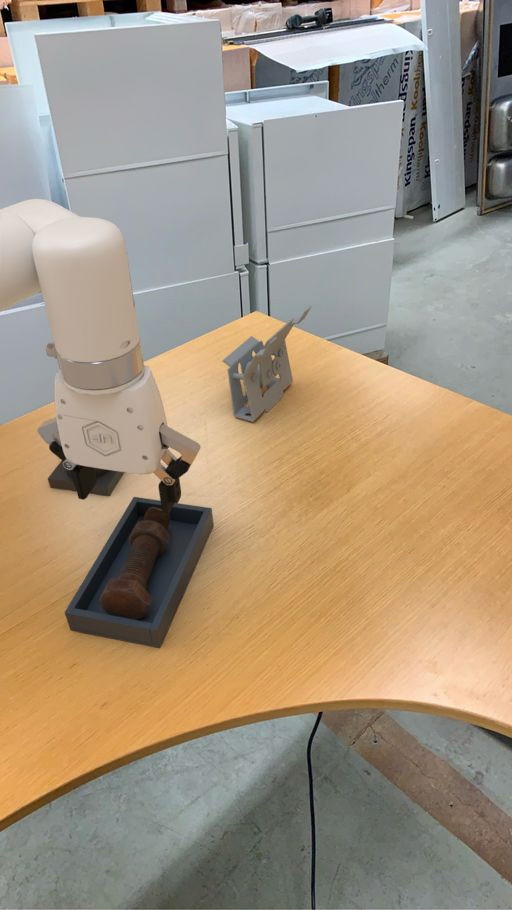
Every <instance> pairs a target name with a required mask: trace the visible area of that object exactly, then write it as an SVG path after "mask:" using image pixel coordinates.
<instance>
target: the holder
mask: <svg viewBox="0 0 512 910" xmlns="http://www.w3.org/2000/svg"><path fill="white" fill-rule="evenodd" d="M150 507H156V508H159V509H162V507H161V501H160V499H152V498H145V497H138V496H133V497H132V499H131V500H130V502H129V504H128V505H127V507H126V509H125V511H124V512H123V514H122V516H121V517H120V519H119V520H118V522H117V523H116V526H115V527H114V529H113V531H112V532H111V534H110V536H109V537H108V539H107V541H106V542H105V544H104V546H103V547H102V549H101V551H100V552H99V554H98V555H97V558H96V559H95V561H94V562H93V564H92V566H91V567H90V569H89V570H88V572H87V574H86V576H85V577H84V578H83V581H82V583H81V584H80V586H79V588H78V589H77V591H76V592H75V594H74V595H73V597H72V599H71V601H70V602H69V604H68V606H67V607H66V609H65V611H64V615H65V616H64V617H65V618H66V619H65V620H66V622H67V625H68V627H69V631H72V632H77V633H81V634H86V635H87V634H88V635H91V636H98V637H102V638H107V639H113V640H117V641H122V642H127V643H132V644H135V645H136V644H137V645H143V646H145V647H146V646H147V647H150V648H151V647H152V648H157V649H161V647H162V646H163V643H164V641H165V638H166V636H167V634H168V632H169V629H170V627H171V625H172V622H173V620H174V618H175V616H176V613H177V611H178V609H179V606H180V604H181V602H182V600H183V598H184V595H185V593H186V591H187V588H188V585H189V583H190V581H191V578H192V576H193V574H194V572H195V570H196V568H197V565H198V563H199V560H200V558H201V555H202V554H203V552H204V549H205V547H206V544H207V542H208V539H209V537H210V535H211V533H212V531H213V528H214V517H213V516H214V515H213V510H212V507H207V506H200V505H194V504H193V505H192V504H188V503H187V504H185V503H179V502H178V503H174V505H173V507H172V509H171V511H170V513H169V515H170V518H169V519H170V523H169V525H168V528H167V532H168V533H169V535H170V540H169V543H168V545H167V547H166V548H165V550H164V552H163V553H162V554H161V556H157V558H156V560H155V563H154V566H153V569H152V572H151V574H150V577H149V580H148V583H147V585H146V591H147V592H148V593H149V594H150V595H151V596H152V597H153V599H152V601H151V604H150V606H149V608H148V610H147V612H146V613H145V615H144V616H143V618H142V619H141V620H133V619H128V618H123V617H117V616H112V615H109V614H107V613H106V612H105V611H104V609H103V608H102V606H101V605H100V603H99V599H100V596H101V594H102V592H103V590H104V589H105V587H106V585H107V583H108V582H109V580H110V578H113V579H117V578H118V577H119V576H120V573H121V571H122V569H123V567H124V564H125V562H126V559H127V556H128V554H129V552H130V549H131V545H130V543H129V541H128V540H129V537H130V535H131V533H132V531H133V529H134V527H135V526H136V524H137V523H138V522H140V521H143V518H144V516H145V513H146V511H147V510H148V509H149V508H150Z"/></svg>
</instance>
